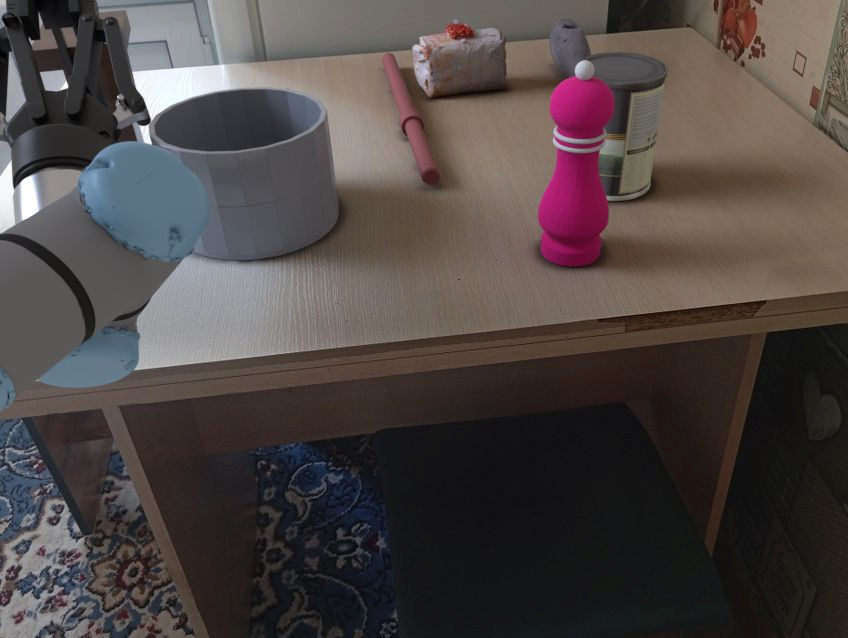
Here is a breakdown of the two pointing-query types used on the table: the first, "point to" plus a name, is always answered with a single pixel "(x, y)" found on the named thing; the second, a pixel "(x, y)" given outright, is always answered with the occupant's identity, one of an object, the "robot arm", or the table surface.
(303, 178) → the pot
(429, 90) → the food item
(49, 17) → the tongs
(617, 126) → the coffee can
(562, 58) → the perforated stone tool
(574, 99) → the pepper mill
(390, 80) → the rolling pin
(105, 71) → the pedestal
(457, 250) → the table surface
